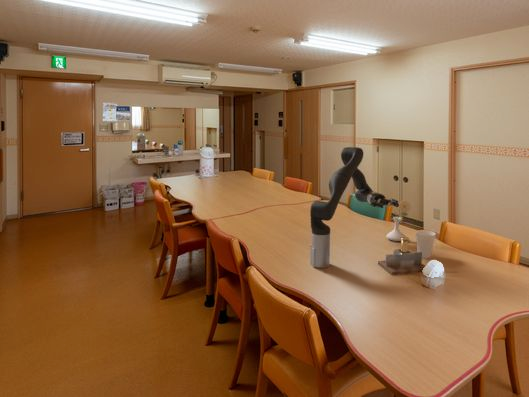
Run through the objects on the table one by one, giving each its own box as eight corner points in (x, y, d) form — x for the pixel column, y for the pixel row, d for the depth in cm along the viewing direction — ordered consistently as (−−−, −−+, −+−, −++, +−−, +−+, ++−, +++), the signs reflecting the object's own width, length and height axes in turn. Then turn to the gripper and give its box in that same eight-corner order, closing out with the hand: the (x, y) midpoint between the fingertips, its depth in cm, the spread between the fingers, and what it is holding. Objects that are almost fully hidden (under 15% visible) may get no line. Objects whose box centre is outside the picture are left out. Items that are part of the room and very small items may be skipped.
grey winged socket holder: (389, 269, 177) (389, 255, 175) (382, 263, 183) (382, 250, 182) (425, 266, 180) (426, 252, 178) (417, 260, 186) (417, 247, 185)
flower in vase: (387, 242, 219) (390, 201, 214) (384, 236, 230) (386, 197, 225) (410, 243, 217) (413, 202, 212) (406, 237, 228) (409, 198, 223)
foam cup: (436, 255, 197) (438, 232, 194) (430, 260, 190) (432, 236, 187) (418, 251, 203) (420, 229, 200) (411, 256, 196) (413, 233, 194)
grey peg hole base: (391, 275, 174) (391, 272, 173) (377, 263, 187) (378, 261, 187) (430, 271, 177) (430, 268, 176) (413, 260, 190) (414, 258, 190)
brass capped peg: (401, 266, 180) (403, 239, 176) (397, 263, 183) (399, 237, 180) (408, 265, 180) (410, 238, 177) (404, 263, 184) (406, 236, 181)
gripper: (364, 193, 205) (377, 199, 190) (388, 192, 207) (403, 198, 192) (364, 206, 207) (377, 213, 191) (387, 205, 209) (402, 211, 193)
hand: (390, 205), depth 191 cm, fingers open, 8 cm apart
